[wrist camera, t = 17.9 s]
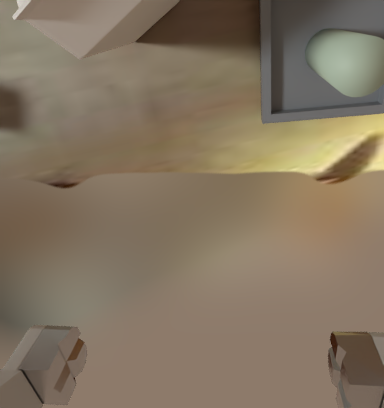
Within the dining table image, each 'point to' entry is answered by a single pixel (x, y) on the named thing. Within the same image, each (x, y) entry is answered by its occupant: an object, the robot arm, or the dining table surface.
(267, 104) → the tray
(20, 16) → the milk carton
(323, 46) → the dowel pin
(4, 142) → the dining table surface
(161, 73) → the dining table surface
